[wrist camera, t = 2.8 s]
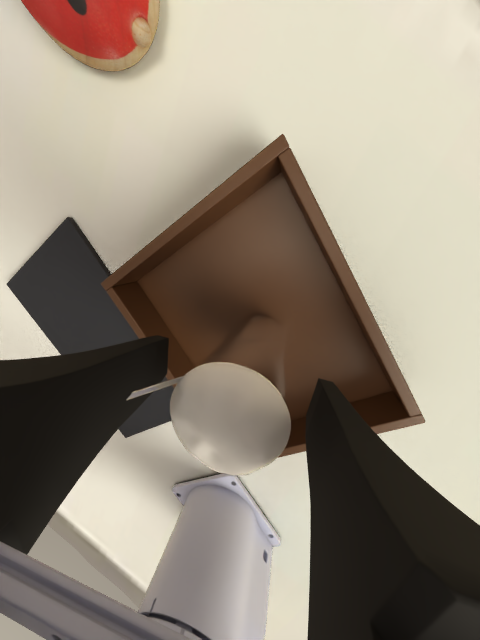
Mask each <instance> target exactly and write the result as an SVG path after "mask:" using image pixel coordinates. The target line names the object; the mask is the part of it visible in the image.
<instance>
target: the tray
mask: <svg viewBox="0 0 480 640" xmlns="http://www.w3.org/2000/svg"><path fill="white" fill-rule="evenodd" d="M101 285H102V286H103V288H104V289H105V290H106V291H107V293H108V295H109V296H110V297H111V299H112V300H113V302H114V303H115V305H116V306H117V307H118V309H119V310H120V312H121V313H122V315H123V316H124V317H125V319H126V320H127V322H128V323H129V325H130V326H131V327H132V329H133V330H134V332H135V333H136V335H137V336H138V337H139V339H141V338H145V337H150V336H156V335H159V336H163V337H166V338H169V348H168V369H167V374H166V378H167V379H168V380H171V379H174V378H177V377H181V376H184V375H185V374H186V373H188V372H189V371H190V370H191V369H192V368H193V367H194V366H195V365H197V364H198V363H199V362H200V361H201V360H202V359H203V358H204V357H206V356H207V355H208V354H209V353H210V352H211V351H212V350H213V349H215V348H216V347H217V346H218V345H219V344H220V343H221V342H222V341H223V340H224V339H225V338H226V337H227V336H228V335H229V334H230V333H231V332H232V331H233V330H234V329H235V328H236V327H237V326H238V325H239V324H240V323H241V322H242V321H243V320H245V319H248V318H250V317H252V316H254V315H256V314H257V315H262V316H268V317H272V318H273V319H274V320H275V321H276V322H277V323H278V324H279V325H280V326H281V327H282V331H283V338H284V349H285V375H286V382H287V391H288V401H289V411H290V419H291V432H290V436H289V440H288V443H287V445H286V447H285V449H284V450H283V452H282V453H281V454H280V455H279V457H282V456H287V455H291V454H295V453H299V452H303V451H306V439H305V430H306V414H307V411H308V408H309V405H310V402H311V399H312V396H313V393H314V390H315V387H316V384H317V381H318V378H320V379H324V380H327V381H331V382H333V383H334V384H335V385H336V386H337V387H338V389H339V390H340V391H341V392H342V394H343V395H344V396H345V397H346V399H347V400H348V401H349V403H350V404H351V405H352V406H353V408H354V409H355V410H356V411H357V412H358V414H359V415H360V416H361V417H362V418H363V420H364V421H365V422H366V423H367V424H368V425H369V427H370V428H371V429H372V430H373V431H374V432H375V433H376V434H379V433H383V432H388V431H392V430H396V429H400V428H404V427H409V426H413V425H417V424H421V423H425V419H424V417H423V415H422V414H421V411H420V409H419V407H418V405H417V403H416V401H415V399H414V397H413V395H412V393H411V391H410V389H409V387H408V385H407V383H406V381H405V379H404V377H403V375H402V373H401V371H400V369H399V367H398V365H397V363H396V361H395V359H394V357H393V355H392V353H391V351H390V349H389V347H388V345H387V343H386V341H385V339H384V337H383V334H382V332H381V330H380V328H379V326H378V324H377V322H376V320H375V318H374V316H373V314H372V312H371V310H370V308H369V306H368V304H367V302H366V300H365V298H364V296H363V294H362V292H361V290H360V288H359V286H358V284H357V282H356V280H355V278H354V276H353V274H352V272H351V270H350V268H349V266H348V264H347V262H346V260H345V258H344V256H343V254H342V252H341V250H340V248H339V246H338V244H337V242H336V239H335V237H334V235H333V233H332V231H331V229H330V227H329V225H328V223H327V221H326V219H325V217H324V215H323V213H322V211H321V209H320V207H319V205H318V203H317V201H316V199H315V197H314V195H313V193H312V191H311V189H310V187H309V185H308V183H307V181H306V179H305V177H304V175H303V173H302V171H301V169H300V167H299V165H298V163H297V161H296V159H295V157H294V155H293V153H292V151H291V149H290V148H289V144H288V142H287V140H286V138H285V136H284V135H283V134H282V135H281V136H279V137H278V138H277V139H276V140H274V141H273V142H272V143H271V144H270V145H268V146H267V147H266V148H265V149H264V150H262V151H261V152H260V153H259V154H257V155H256V156H255V157H254V158H253V159H251V160H250V161H249V162H248V163H246V164H245V165H244V166H243V167H242V168H240V169H239V170H238V171H237V172H236V173H234V174H233V175H232V176H231V177H229V178H228V179H227V180H226V181H225V182H223V183H222V184H221V185H220V186H218V187H217V188H216V189H215V190H214V191H212V192H211V193H210V194H209V195H208V196H206V197H205V198H204V199H203V200H201V201H200V202H199V203H198V204H197V205H195V206H194V207H193V208H192V209H190V210H189V211H188V212H187V213H186V214H184V215H183V216H182V217H181V218H180V219H178V220H177V221H176V222H175V223H173V224H172V225H171V226H170V227H169V228H167V229H166V230H165V231H164V232H162V233H161V234H160V235H159V236H158V237H156V238H155V239H154V240H153V241H152V242H150V243H149V244H148V245H147V246H145V247H144V248H143V249H142V250H141V251H139V252H138V253H137V254H136V255H134V256H133V257H132V258H131V259H130V260H128V261H127V262H126V263H125V264H124V265H122V266H121V267H120V268H119V269H117V270H116V271H115V272H114V273H113V274H111V275H110V276H109V277H108V278H106V279H105V280H104V281H103V282H102V283H101ZM176 385H177V383H176V384H173V385H172V386H173V388H175V387H176Z"/></svg>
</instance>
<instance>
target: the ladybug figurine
mask: <svg viewBox="0 0 480 640" xmlns="http://www.w3.org/2000/svg"><path fill="white" fill-rule="evenodd" d="M21 1H22V2H23V4H24V5H25V7H26V8H27V9H28V11H29V12H30V13H31V15H32V16H33V17H34V18H35V20H36V21H37V22H38V23H39V25H40V26H41V27H42V28H43V29H44V30H45V31H46V33H47V34H48V35H49V36H50V37H51V38H52V39H53V40H54V41H55V42H56V43H57V44H58V45H59V46H60V47H61V48H62V49H63V50H65V51H66V52H67V53H68V54H70V55H71V56H73V57H74V58H75V59H77V60H79V61H80V62H82V63H84V64H86V65H88V66H90V67H93V68H96V69H100V70H104V71H120V70H124V69H127V68H130V67H132V66H133V65H135V64H136V63H137V62H139V61H140V60H141V59H142V58H143V56H144V55H145V54H146V53H147V51H148V50H149V48H150V46H151V44H152V41H153V39H154V36H155V33H156V29H157V25H158V20H159V8H160V0H21Z"/></svg>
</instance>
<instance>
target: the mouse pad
mask: <svg viewBox="0 0 480 640" xmlns="http://www.w3.org/2000/svg"><path fill="white" fill-rule="evenodd" d="M110 275H111V274H110V272H109V271H108V269H107V268H106V266H105V265H104V264H103V262H102V261H101V259H100V258H99V256H98V255H97V253H96V252H95V250H94V249H93V247H92V246H91V245H90V243H89V242H88V240H87V239H86V237H85V236H84V234H83V233H82V231H81V230H80V229H79V227H78V226H77V224H76V223H75V221H74V220H73V218H70V217H67V218H66V219H65V220H64V222H63V223H62V224H61V225H60V226H59V227H58V228H57V229H56V230H55V231H54V233H53V234H52V235H51V236H50V237H49V238H48V239H47V240H46V241H45V242H44V243H43V245H42V246H41V247H40V248H39V249H38V250H37V251H36V252H35V253H34V254H33V256H32V257H31V258H30V259H29V260H28V261H27V262H26V263H25V264H24V265H23V267H22V268H21V269H20V270H19V271H18V272H17V273H16V274H15V275H14V276H13V278H12V279H11V280H10V281H9V282H8V283H7V286H8V287H9V288H10V290H11V291H12V292H13V293H14V295H15V296H16V297H17V299H18V300H19V301H20V302H21V304H22V305H23V306H24V308H25V309H26V310H27V311H28V313H29V314H30V315H31V317H32V318H33V319H34V321H35V322H36V323H37V324H38V326H39V327H40V328H41V330H42V331H43V332H44V333H45V335H46V336H47V337H48V339H49V340H50V341H51V342H52V344H53V345H54V346H55V348H56V349H57V350H58V351H59V353H60V354H61V355H66V354H72V353H79V352H84V351H90V350H94V349H99V348H103V347H108V346H112V345H117V344H121V343H125V342H129V341H133V340H137V339H139V337H138V336H137V335H136V333H135V332H134V330H133V329H132V327H131V326H130V325H129V323H128V322H127V320H126V319H125V317H124V316H123V315H122V313H121V312H120V310H119V309H118V307H117V306H116V305H115V303H114V302H113V300H112V299H111V297H110V296H109V295H108V293H107V291H106V290H105V289H104V288H103V286H102V285H101V283H102V282H103V281H104V280H105V279H106V278H108V277H109V276H110ZM165 381H168V379H167V378H166V376H165V377H164V379H163V380H162V382H165ZM173 390H174V388H173V386H172V385H170V386H167V387H164V388H162V389H159V390H156V391H154V392H153V393H152V394H151V395H150V396H149V397H148V398H147V399H146V400H145V401H144V402H143V403H142V404H141V406H140V407H139V408H138V409H137V410H136V411H135V412H134V413H133V414H132V415H131V416H130V417H129V418H128V419H127V420H126V421H125V422H124V423H123V424H122V425H121V426H120V427H119V430H120V432H121V433H122V434H123V435H124V437H125V438H127V437H129V436H132V435H135V434H137V433H140V432H142V431H145V430H148V429H150V428H153V427H156V426H158V425H161V424H164V423H166V422H169V421H171V420H172V419H171V415H170V400H171V396H172V393H173Z"/></svg>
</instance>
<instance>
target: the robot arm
mask: <svg viewBox="0 0 480 640" xmlns="http://www.w3.org/2000/svg"><path fill="white" fill-rule="evenodd" d="M168 348H169V338H166V337H163V336H159V335H156V336H150V337H145V338H141V339H137V340H133V341H129V342H125V343H121V344H117V345H112V346H108V347H103V348H99V349H94V350H90V351H84V352H79V353H72V354H66V355H59V356H50V357H40V358H30V359H18V360H0V613H2V614H4V615H5V616H7V617H9V618H11V619H12V620H14V621H16V622H17V623H19V624H21V625H23V626H24V627H26V628H28V629H29V630H31V631H33V632H35V633H36V634H38V635H40V636H41V637H43V638H45V639H46V640H264V639H265V632H266V621H267V609H268V597H269V585H270V573H271V561H272V549H273V547H276V546H280V545H281V539H280V537H279V536H278V534H277V533H276V531H275V530H274V529H273V527H272V526H271V524H270V523H269V521H268V520H267V518H266V517H265V516H264V514H263V513H262V511H261V510H260V508H259V507H258V506H257V504H256V503H255V501H254V500H253V498H252V497H251V496H250V494H249V493H248V491H247V490H246V488H245V487H244V486H243V484H242V483H241V481H240V480H239V478H238V477H237V475H230V474H224V473H223V474H219V475H214V476H210V477H206V478H201V479H197V480H193V481H188V482H184V483H180V484H175V485H174V486H173V488H172V491H173V493H174V494H175V495H176V497H177V498H178V499H179V501H180V502H181V503H182V505H183V506H184V507H183V509H182V511H181V513H180V516H179V518H178V520H177V523H176V525H175V527H174V530H173V532H172V534H171V536H170V539H169V541H168V543H167V546H166V548H165V550H164V552H163V555H162V557H161V559H160V562H159V564H158V566H157V569H156V571H155V573H154V575H153V578H152V580H151V582H150V585H149V587H148V589H147V591H146V594H145V596H144V598H143V601H142V603H141V605H140V608H139V610H138V612H137V611H135V610H133V609H131V608H129V607H127V606H125V605H123V604H121V603H119V602H118V601H116V600H114V599H112V598H110V597H108V596H106V595H104V594H102V593H100V592H98V591H96V590H94V589H92V588H90V587H88V586H86V585H84V584H82V583H80V582H78V581H76V580H75V579H73V578H71V577H68V576H67V575H65V574H63V573H61V572H59V571H57V570H55V569H53V568H51V567H49V566H47V565H45V564H43V563H41V562H39V561H37V560H36V559H33V558H32V557H30V556H28V555H27V554H28V553H29V551H30V549H31V548H32V546H33V545H34V543H35V542H36V540H37V539H38V537H39V536H40V534H41V533H42V531H43V530H44V528H45V527H46V525H47V524H48V522H49V521H50V519H51V518H52V516H53V515H54V513H55V512H56V510H57V509H58V507H59V506H60V505H61V503H62V502H63V500H64V499H65V498H66V496H67V495H68V493H69V492H70V491H71V489H72V488H73V486H74V485H75V484H76V482H77V481H78V479H79V478H80V477H81V475H82V474H83V473H84V471H85V470H86V469H87V467H88V466H89V465H90V463H91V462H92V461H93V459H94V458H95V457H96V455H97V454H98V453H99V452H100V450H101V449H102V448H103V447H104V445H105V444H106V443H107V442H108V440H109V439H110V438H111V437H112V435H113V434H114V433H115V432H116V431H117V430H118V429H119V427H120V426H121V425H122V424H123V423H124V422H125V421H126V420H127V419H128V418H129V417H130V416H131V415H132V414H133V413H134V412H135V411H136V410H137V409H138V408H139V407H140V406H141V404H142V403H143V402H144V401H145V400H146V399H147V398H148V397H149V396H150V395H151V394H152V393H153V392H154V391H153V392H150V393H147V394H144V395H141V396H138V397H135V398H132V399H129V400H125V399H126V398H127V397H128V395H129V394H130V393H131V392H133V391H136V390H139V389H142V388H146V387H149V386H152V385H155V384H158V383H161V382H162V380H163V379H164V377H165V376H166V374H167V369H168ZM305 439H306V452H307V463H308V475H309V486H310V502H311V544H310V589H309V621H308V640H480V525H478V524H477V523H476V522H474V521H473V520H472V519H470V518H469V517H468V516H467V515H465V514H464V513H463V512H462V511H460V510H459V509H458V508H457V507H455V506H454V505H453V504H452V503H450V502H449V501H448V500H447V499H446V498H444V497H443V496H442V495H441V494H440V493H438V492H437V491H436V490H435V489H434V488H433V487H431V486H430V485H429V484H428V483H427V482H426V481H424V480H423V479H422V478H421V477H420V476H419V475H418V474H417V473H415V472H414V471H413V470H412V469H411V468H410V467H409V466H408V465H407V464H406V463H405V462H404V461H403V460H401V459H400V458H399V457H398V456H397V455H396V454H395V453H394V452H393V451H392V450H391V449H390V448H389V447H388V446H387V445H386V444H385V443H384V442H383V441H382V440H381V439H380V437H379V436H378V435H377V434H376V433H375V432H374V431H373V430H372V429H371V428H370V427H369V425H368V424H367V423H366V422H365V421H364V420H363V418H362V417H361V416H360V415H359V414H358V412H357V411H356V410H355V409H354V408H353V406H352V405H351V404H350V403H349V401H348V400H347V399H346V397H345V396H344V395H343V394H342V392H341V391H340V390H339V389H338V387H337V386H336V385H335V384H334V383H333V382H331V381H327V380H324V379H320V378H318V381H317V384H316V387H315V390H314V393H313V396H312V399H311V402H310V405H309V408H308V411H307V414H306V430H305Z"/></svg>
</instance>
